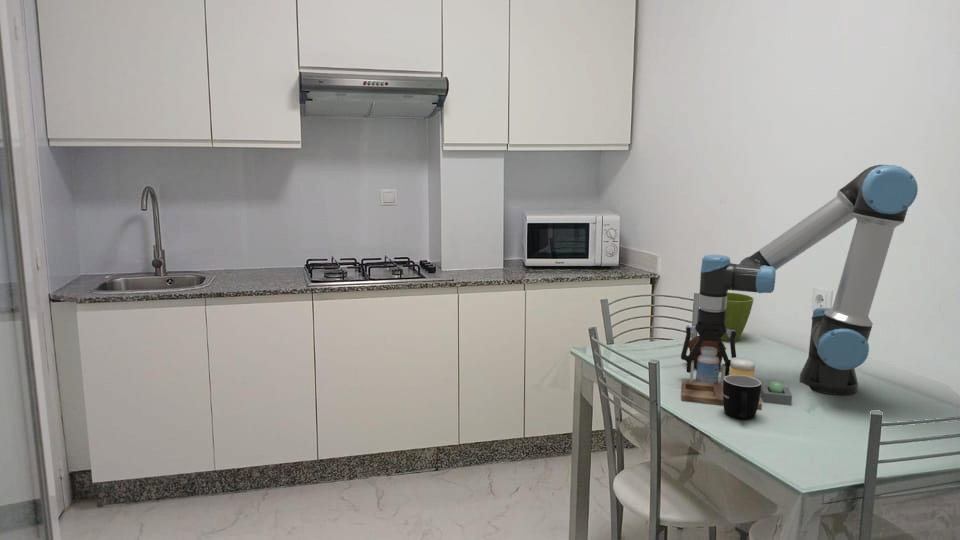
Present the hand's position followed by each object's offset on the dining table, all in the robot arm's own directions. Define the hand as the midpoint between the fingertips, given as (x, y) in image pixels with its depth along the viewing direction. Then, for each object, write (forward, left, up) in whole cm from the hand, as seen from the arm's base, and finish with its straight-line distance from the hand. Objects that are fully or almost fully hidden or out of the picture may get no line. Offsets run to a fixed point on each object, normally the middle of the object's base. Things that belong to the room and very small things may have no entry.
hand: (706, 384), depth 191 cm
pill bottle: (0, 0, 0) cm, 0 cm away
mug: (-7, +24, -1) cm, 25 cm away
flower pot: (-9, -54, 0) cm, 55 cm away
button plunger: (-17, +8, +2) cm, 19 cm away
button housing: (-18, +8, 0) cm, 19 cm away
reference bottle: (-8, +12, +1) cm, 14 cm away
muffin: (0, -18, -1) cm, 18 cm away
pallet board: (-3, +12, 0) cm, 12 cm away
